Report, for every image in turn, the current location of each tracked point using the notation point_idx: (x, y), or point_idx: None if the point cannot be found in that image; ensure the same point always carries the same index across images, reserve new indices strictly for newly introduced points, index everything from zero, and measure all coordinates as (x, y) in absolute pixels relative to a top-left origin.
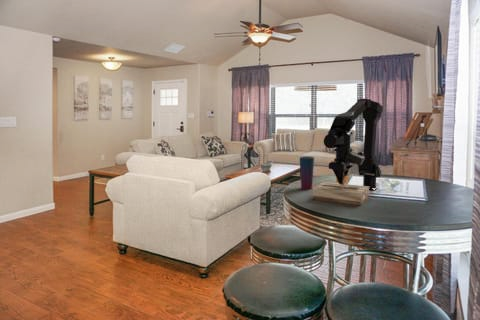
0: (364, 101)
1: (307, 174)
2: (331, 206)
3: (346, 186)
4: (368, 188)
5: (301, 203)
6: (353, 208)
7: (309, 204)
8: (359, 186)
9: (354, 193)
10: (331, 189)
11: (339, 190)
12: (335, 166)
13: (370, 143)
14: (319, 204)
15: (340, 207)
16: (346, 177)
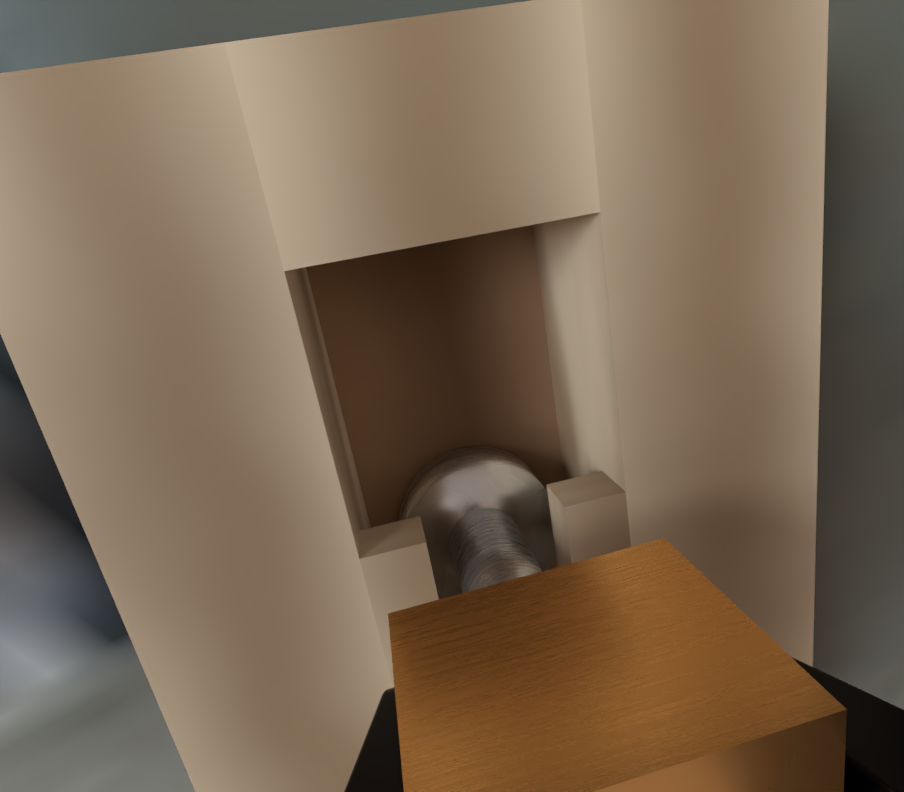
0: None
1: None
2: (876, 387)
3: (381, 575)
4: (59, 78)
5: (895, 682)
6: (848, 99)
7: (898, 607)
8: (146, 344)
9: (800, 154)
10: (789, 627)
11: (799, 484)
12: None
13: None
14: (854, 535)
15: (873, 274)
16: (720, 677)
